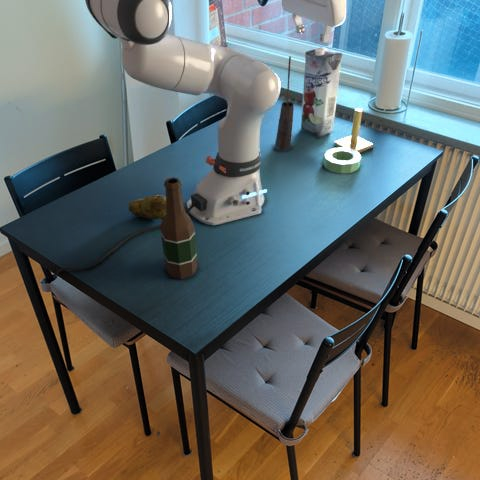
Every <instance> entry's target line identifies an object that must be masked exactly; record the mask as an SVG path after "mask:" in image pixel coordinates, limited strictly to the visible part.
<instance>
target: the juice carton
mask: <svg viewBox="0 0 480 480" xmlns="http://www.w3.org/2000/svg"><path fill="white" fill-rule="evenodd" d="M304 56H305V57H304V58H305V62H304V75H303V77H304V78H303V88H302V89H303V91H302V103H301V104H302V105H301V119H300V120H301V121H300V128H301V130H302V131H304V132H306V133H308V134H310V135H312V136H314V137H316V138H321V137H323V136H325V135H328V134H330V133H332V132H333V130H334V125H335V118H336V109H337V100H338V91H339V83H340V74H341V65H342V60H343V59H342V58H343V53H342V52H338V51H333V50H330V49H328V48H326V47H324V46H320V47H316V48H314V49H311V50H307V51H306V52H305V55H304Z"/></svg>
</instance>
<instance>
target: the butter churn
mask: <svg viewBox="0 0 480 480" xmlns="http://www.w3.org/2000/svg"><path fill="white" fill-rule="evenodd" d="M291 61H292V56H291V55H289V56H288V68H287V70H288V71H287V88H286V90H287V91H286V101H282V102H281V105H280V106H281V107H280V112H279V119H278V125H277V132H276V137H275V144H274V148H275V150H276V151H279V152H286V151H289V150H290V149H292V148H291V147H292V136H293V135H292V134H293V131H292V130H293V122H294V107H295V106H294V102H292V101H289V99H290V97H289V95H290V94H289V93H290V79H291V78H290V77H291V76H290V75H291V63H292V62H291Z"/></svg>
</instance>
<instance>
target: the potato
mask: <svg viewBox="0 0 480 480" xmlns="http://www.w3.org/2000/svg"><path fill="white" fill-rule="evenodd" d="M166 209H167V205H166V195H164V194H153V195H148V196H146V197H144V198H138V199H133V200H132V201H130V202H129V204H128V211H129V212H130V214H132V216H135V217H141V218H143V219H148V220H158V219H159V220H161V221H162V220H163V218H164V216H165V215H166Z"/></svg>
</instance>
